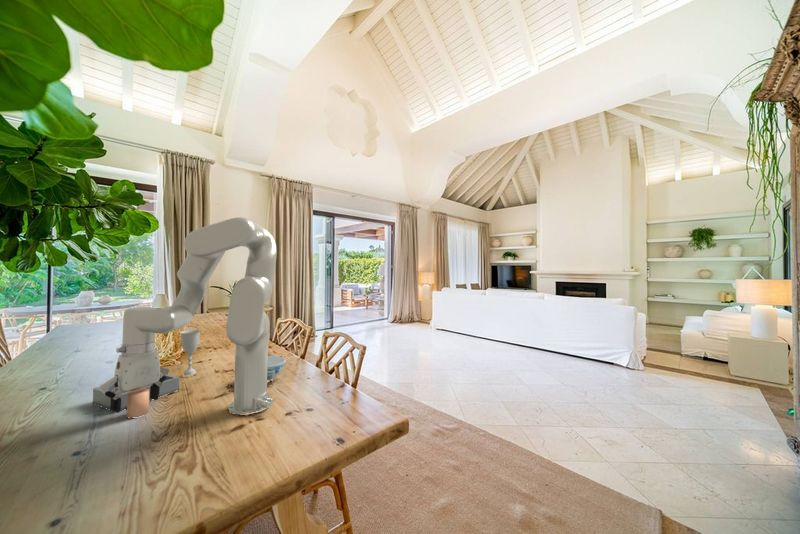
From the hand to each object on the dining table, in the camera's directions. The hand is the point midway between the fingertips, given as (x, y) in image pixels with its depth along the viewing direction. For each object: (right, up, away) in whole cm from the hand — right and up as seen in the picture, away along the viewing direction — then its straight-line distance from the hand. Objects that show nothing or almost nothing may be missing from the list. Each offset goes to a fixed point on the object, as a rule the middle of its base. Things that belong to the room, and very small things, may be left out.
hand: (135, 404), depth 93 cm
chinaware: (+26, -4, +29) cm, 40 cm away
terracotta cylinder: (+1, -3, 0) cm, 3 cm away
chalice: (-7, -3, +34) cm, 35 cm away
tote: (-10, -3, +12) cm, 16 cm away
